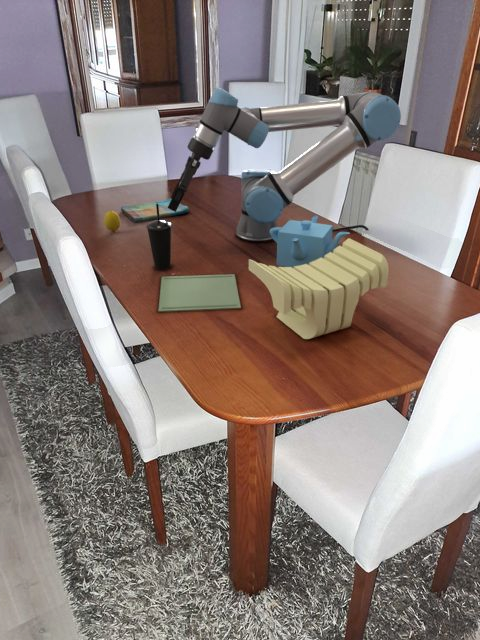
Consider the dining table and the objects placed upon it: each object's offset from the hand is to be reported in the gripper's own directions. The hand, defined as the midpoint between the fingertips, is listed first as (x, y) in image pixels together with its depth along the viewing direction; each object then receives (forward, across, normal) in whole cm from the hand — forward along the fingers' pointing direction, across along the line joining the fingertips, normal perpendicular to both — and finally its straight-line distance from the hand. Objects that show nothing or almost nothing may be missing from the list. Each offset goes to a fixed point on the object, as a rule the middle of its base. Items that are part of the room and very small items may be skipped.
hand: (172, 204), depth 166 cm
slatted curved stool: (-2, +49, +43) cm, 65 cm away
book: (+17, -45, -3) cm, 48 cm away
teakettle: (-5, +13, +45) cm, 47 cm away
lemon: (+25, -22, -13) cm, 36 cm away
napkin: (+12, +30, +16) cm, 36 cm away
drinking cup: (+17, +11, +5) cm, 21 cm away
